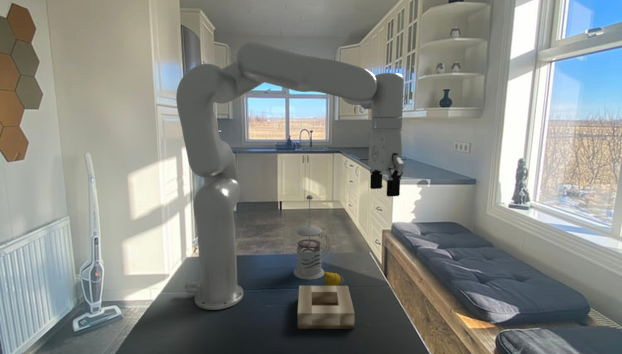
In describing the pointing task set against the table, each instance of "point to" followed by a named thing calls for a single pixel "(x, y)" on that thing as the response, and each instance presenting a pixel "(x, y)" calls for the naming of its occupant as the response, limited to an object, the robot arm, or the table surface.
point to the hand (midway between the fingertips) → (384, 192)
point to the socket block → (325, 308)
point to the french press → (309, 267)
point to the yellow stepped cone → (333, 279)
